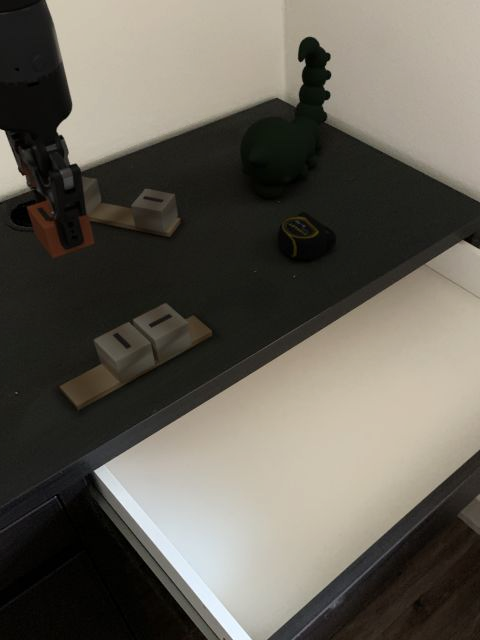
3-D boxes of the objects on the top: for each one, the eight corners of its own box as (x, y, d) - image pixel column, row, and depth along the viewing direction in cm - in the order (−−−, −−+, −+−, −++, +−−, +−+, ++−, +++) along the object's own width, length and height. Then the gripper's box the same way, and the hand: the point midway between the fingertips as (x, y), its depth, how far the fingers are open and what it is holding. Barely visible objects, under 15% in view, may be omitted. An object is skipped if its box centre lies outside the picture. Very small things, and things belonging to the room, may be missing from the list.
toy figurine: (287, 146, 113) (220, 208, 96) (293, 23, 100) (216, 69, 83) (339, 158, 111) (279, 224, 94) (352, 33, 98) (285, 84, 81)
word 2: (80, 412, 71) (70, 384, 68) (59, 389, 73) (48, 361, 70) (214, 337, 79) (211, 309, 76) (192, 318, 81) (188, 290, 78)
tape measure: (337, 252, 91) (339, 229, 88) (298, 271, 88) (299, 248, 85) (306, 229, 94) (307, 206, 91) (267, 246, 91) (267, 223, 88)
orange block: (52, 258, 66) (43, 228, 63) (35, 236, 68) (26, 205, 66) (95, 243, 68) (87, 213, 65) (77, 222, 70) (69, 192, 67)
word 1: (59, 216, 95) (51, 189, 92) (75, 200, 98) (68, 172, 94) (169, 238, 92) (164, 211, 89) (181, 221, 95) (178, 193, 91)
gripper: (-60, 37, 57) (2, 210, 70) (-2, 103, 49) (55, 283, 62) (26, 20, 60) (70, 189, 73) (93, 80, 52) (128, 256, 65)
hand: (63, 232), depth 67 cm, fingers closed on orange block, 4 cm apart
